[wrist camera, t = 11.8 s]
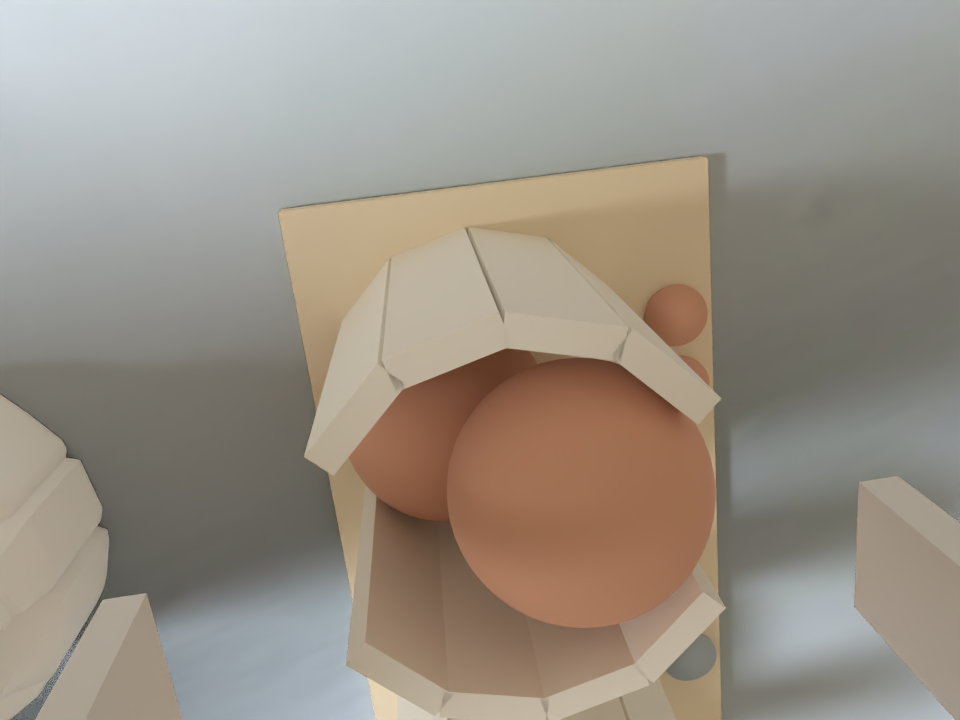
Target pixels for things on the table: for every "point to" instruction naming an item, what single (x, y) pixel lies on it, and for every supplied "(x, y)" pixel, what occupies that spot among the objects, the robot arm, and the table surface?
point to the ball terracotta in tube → (428, 434)
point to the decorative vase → (43, 555)
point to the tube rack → (547, 336)
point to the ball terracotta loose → (580, 493)
